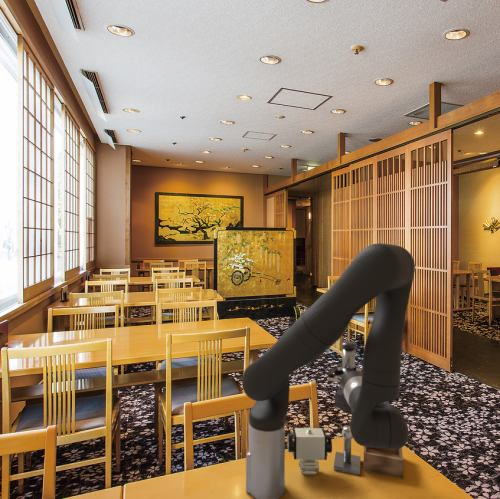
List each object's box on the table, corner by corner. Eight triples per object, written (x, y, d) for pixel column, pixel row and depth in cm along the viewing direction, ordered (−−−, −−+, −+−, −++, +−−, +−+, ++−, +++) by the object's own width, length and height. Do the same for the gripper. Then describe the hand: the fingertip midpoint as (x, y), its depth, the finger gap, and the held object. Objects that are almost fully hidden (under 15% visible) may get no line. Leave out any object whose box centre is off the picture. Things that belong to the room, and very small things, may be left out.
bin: (363, 470, 98) (363, 452, 97) (364, 450, 107) (364, 434, 107) (403, 478, 94) (403, 460, 94) (400, 457, 104) (400, 440, 104)
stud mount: (333, 469, 98) (333, 431, 98) (335, 455, 104) (336, 419, 104) (359, 475, 96) (360, 436, 95) (360, 460, 102) (360, 424, 102)
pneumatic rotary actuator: (332, 477, 95) (332, 433, 95) (288, 476, 95) (288, 432, 95) (327, 464, 100) (328, 422, 100) (286, 463, 100) (287, 422, 100)
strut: (334, 406, 100) (336, 342, 100) (344, 401, 103) (345, 339, 103) (351, 413, 96) (352, 346, 96) (360, 407, 100) (362, 343, 99)
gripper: (390, 378, 85) (371, 355, 102) (330, 375, 86) (322, 353, 103) (389, 409, 85) (370, 381, 102) (329, 405, 86) (321, 378, 103)
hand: (346, 367), depth 102 cm, fingers closed on strut, 3 cm apart
